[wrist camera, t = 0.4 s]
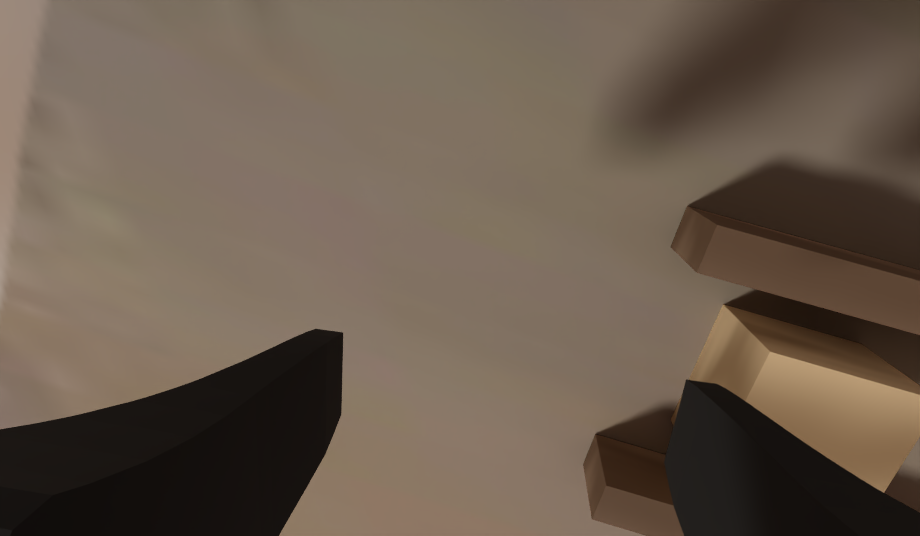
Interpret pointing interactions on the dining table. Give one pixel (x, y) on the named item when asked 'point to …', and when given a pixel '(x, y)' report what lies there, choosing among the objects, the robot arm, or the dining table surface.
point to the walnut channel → (763, 268)
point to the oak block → (816, 390)
